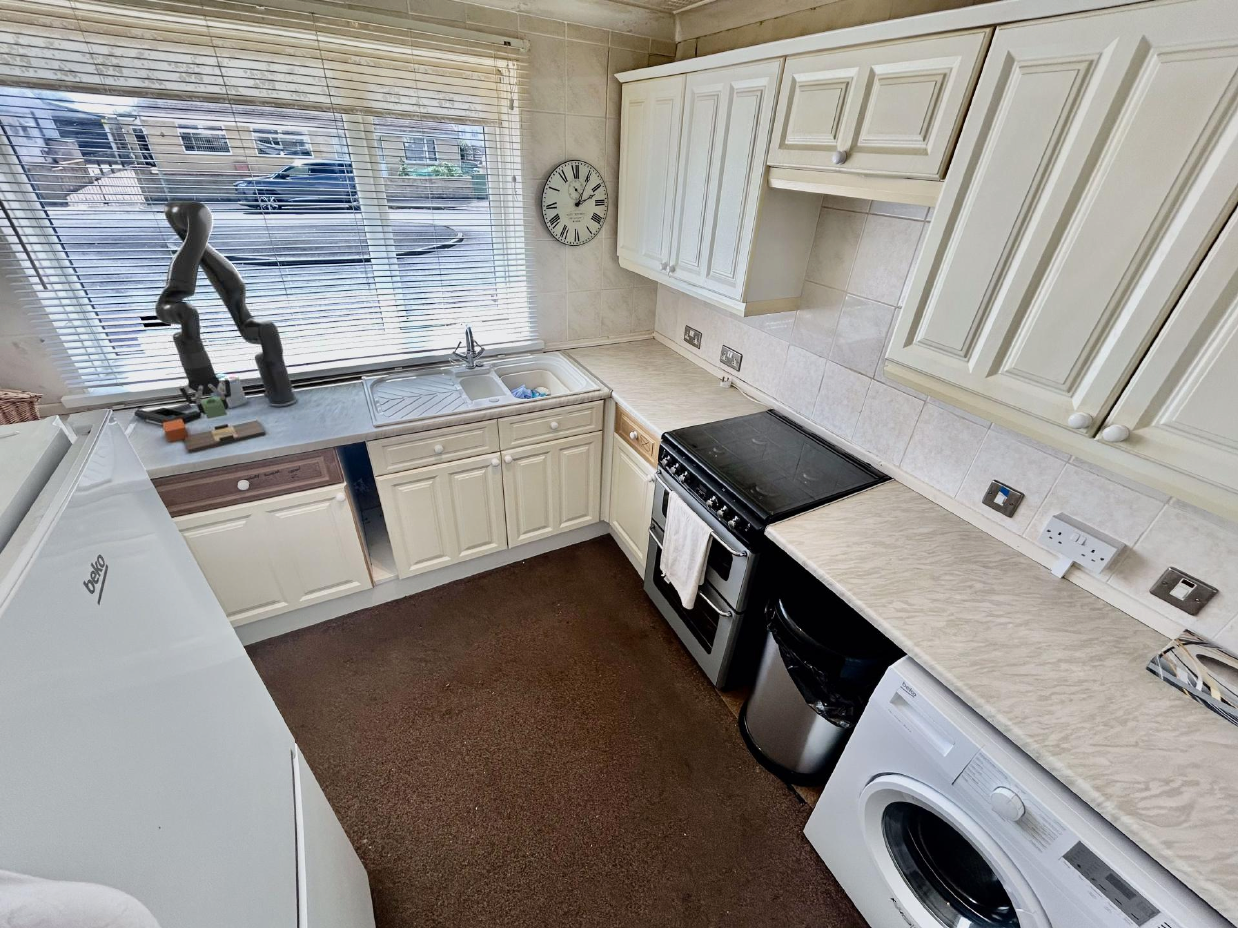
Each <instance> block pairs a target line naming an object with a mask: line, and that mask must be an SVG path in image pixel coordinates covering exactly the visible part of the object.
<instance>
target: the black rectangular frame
mask: <svg viewBox="0 0 1238 928" xmlns="http://www.w3.org/2000/svg"><path fill="white" fill-rule="evenodd" d="M188 409H192V407H191V404H189V403H188V402H185V403H182V404H179V405H175V406H172V407H168V408H167V407H160V408H157V409H154V410H150V411H147V410H143V409H137V410H135V411H134V416H135V417H136V418H139V419H143V420H146V422H147V423H153V424H156V425H160V426H163V423H164V422H169V421H174V420H178V419H182V420H183V423H185V422H187V421H192V420H194V419H197V418H200V417H202V413H200V412H199V410H192V411H190V412H183V411H185V410H188ZM171 416H173V417H171Z"/></svg>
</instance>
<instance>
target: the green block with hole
mask: <svg viewBox="0 0 1238 928" xmlns="http://www.w3.org/2000/svg"><path fill="white" fill-rule="evenodd" d="M201 403H202V406H203V409H204V411H205V414H204V415H205V416H206V419H207V420H209V419H214V418H218V417H223V416H224V417H225V416H227V415H228V413H227V410H225V408H224V405H223V403H222V401H221V399H220V397H219V396H217V397H212V396H211V397H208V398H201Z"/></svg>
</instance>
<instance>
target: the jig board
mask: <svg viewBox="0 0 1238 928" xmlns="http://www.w3.org/2000/svg"><path fill="white" fill-rule="evenodd" d="M213 428H214V429H212V430H208V431H202V432H198V433H194V434H190V435H189V434H188V436H185V437H184V439H183V440H184V442H185V446H186V448H187V450H188V453H193V452H194V453H195V452H198V451H202V450H207V449H211V448H214V447H219V446H222V445H226V444H230V443H236V442H239V441H243V440H247V439H252V438H255V437H260V436H264V435H266V433H265V431H264V428H263V427H262V425H261V424H260V422H259V421H258V419H255V420H251V421H247V422H243V423H239V424H234V425H228V423H224V424H220V425H215V426H213Z"/></svg>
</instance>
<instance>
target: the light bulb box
mask: <svg viewBox="0 0 1238 928" xmlns="http://www.w3.org/2000/svg"><path fill="white" fill-rule="evenodd" d="M215 375H216V377H217V378H218V379H225V378H228V380H229V381H230V389H231V397H228V398H226V401H227V403H228V406H229V407H228V408H230V409H233V408H236V407H239V406H241V405H244V404H247V403H248V399H247V397H246V395H245V390H244V389H243V385H242V383H241V380H240V377H238V376H236V375H230V374H226V373H222V372H221V373H217V374H215ZM217 389H219V391H220V392H221V393H222V394H224V393H226V392H225V386H223V385H222V383H219V385H218V387H217ZM210 396H211V398H212V397H217V396H218V395H217V394H216V393H215V392H214V393H210ZM220 399H221V398H220Z"/></svg>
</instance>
